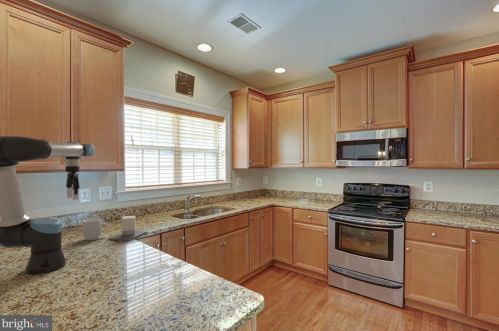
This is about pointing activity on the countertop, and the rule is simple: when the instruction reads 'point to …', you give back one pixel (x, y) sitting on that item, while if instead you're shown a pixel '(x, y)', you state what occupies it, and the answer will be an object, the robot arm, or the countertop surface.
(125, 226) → the cream cube block
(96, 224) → the mug
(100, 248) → the countertop surface
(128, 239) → the post base
